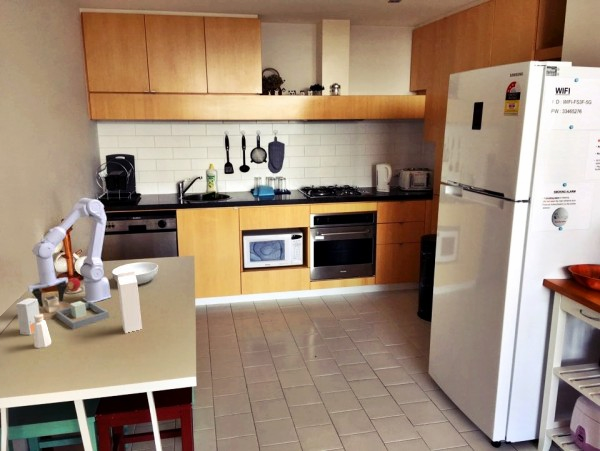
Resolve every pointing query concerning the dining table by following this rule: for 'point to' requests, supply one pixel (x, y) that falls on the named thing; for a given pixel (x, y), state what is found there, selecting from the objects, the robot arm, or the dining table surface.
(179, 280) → the dining table surface
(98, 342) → the dining table surface
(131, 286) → the milk
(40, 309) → the walnut board
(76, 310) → the sage block
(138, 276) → the serving bowl
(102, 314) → the bin
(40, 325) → the pepper shaker
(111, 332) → the dining table surface
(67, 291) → the apple
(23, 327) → the skincare box
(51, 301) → the birch block
